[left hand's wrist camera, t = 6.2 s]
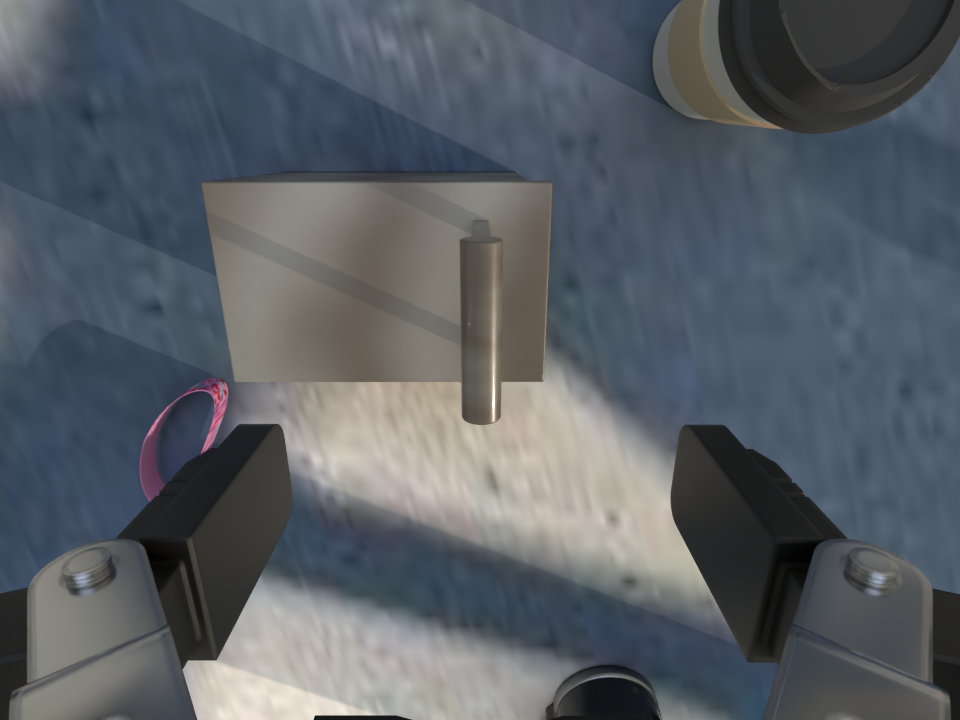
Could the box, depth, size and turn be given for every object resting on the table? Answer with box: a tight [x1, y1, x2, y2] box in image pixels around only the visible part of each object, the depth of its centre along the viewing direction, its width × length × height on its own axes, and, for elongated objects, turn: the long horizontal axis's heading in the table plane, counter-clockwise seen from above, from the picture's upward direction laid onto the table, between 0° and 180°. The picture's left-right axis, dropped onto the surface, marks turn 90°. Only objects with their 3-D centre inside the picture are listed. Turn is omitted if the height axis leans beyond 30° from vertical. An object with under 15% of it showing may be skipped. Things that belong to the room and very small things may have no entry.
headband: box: [140, 378, 228, 501], centre depth 40 cm, size 11×4×2 cm, turn 151°
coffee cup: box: [653, 0, 960, 133], centre depth 26 cm, size 9×9×15 cm
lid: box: [201, 181, 553, 425], centre depth 23 cm, size 15×9×8 cm, turn 90°
